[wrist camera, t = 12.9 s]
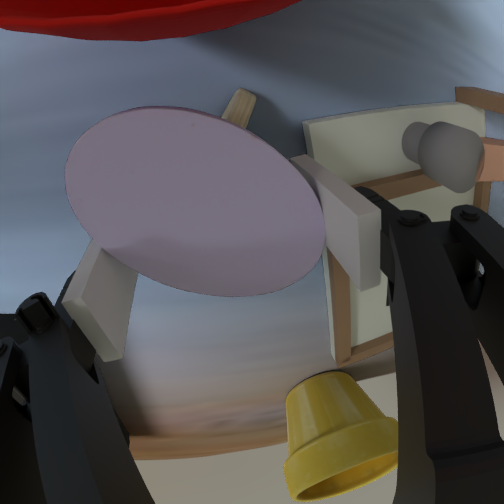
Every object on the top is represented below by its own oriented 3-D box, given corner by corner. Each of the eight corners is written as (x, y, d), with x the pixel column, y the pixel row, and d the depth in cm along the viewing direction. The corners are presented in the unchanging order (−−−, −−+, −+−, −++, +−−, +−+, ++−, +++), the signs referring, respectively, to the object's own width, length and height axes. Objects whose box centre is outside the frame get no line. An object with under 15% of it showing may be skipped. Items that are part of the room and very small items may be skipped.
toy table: (73, 186, 14) (27, 237, 9) (179, 38, 12) (174, 11, 7) (218, 278, 19) (231, 350, 14) (325, 161, 16) (382, 200, 11)
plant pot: (357, 406, 31) (389, 478, 22) (265, 427, 29) (287, 510, 21) (381, 344, 25) (433, 433, 17) (266, 369, 24) (297, 481, 16)
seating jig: (331, 353, 24) (356, 406, 20) (298, 102, 14) (348, 114, 10) (454, 301, 25) (488, 339, 20) (473, 87, 15) (536, 102, 10)
